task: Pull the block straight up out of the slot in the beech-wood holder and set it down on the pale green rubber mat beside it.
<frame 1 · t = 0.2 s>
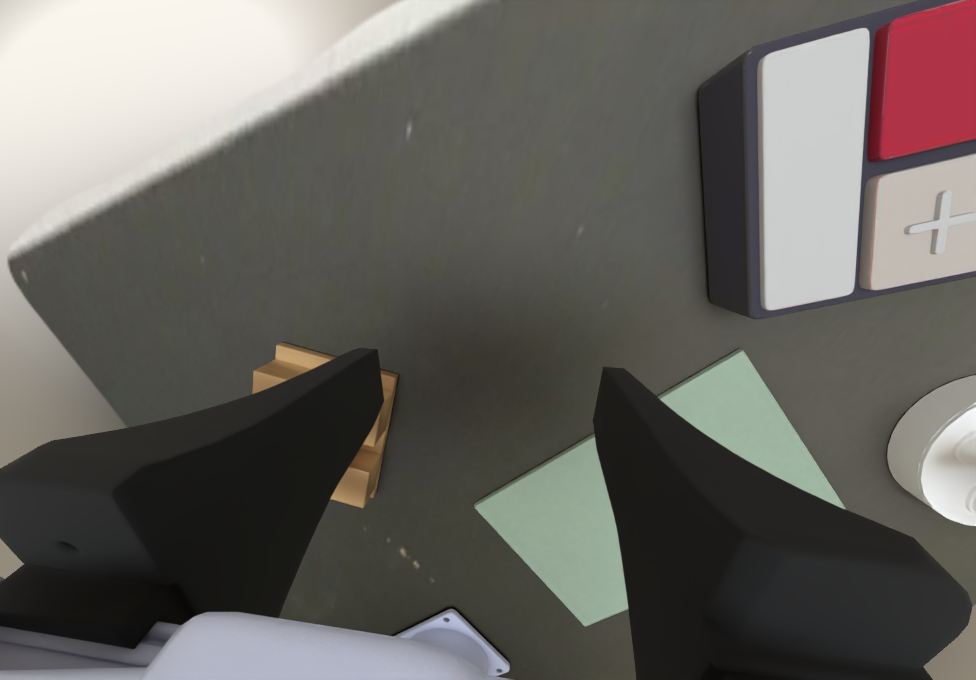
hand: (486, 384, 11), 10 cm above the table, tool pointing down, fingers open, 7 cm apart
holder: (332, 421, 25), on the table
calculator: (863, 166, 18), on the table
mat: (649, 506, 25), on the table
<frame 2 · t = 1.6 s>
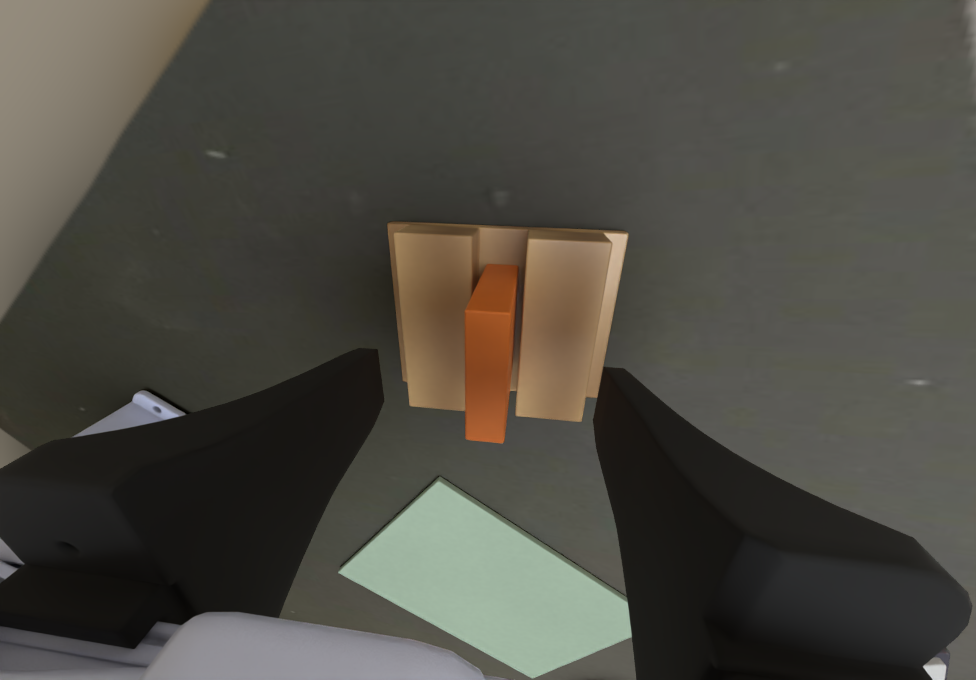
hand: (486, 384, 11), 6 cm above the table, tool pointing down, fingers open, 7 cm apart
holder: (501, 312, 17), on the table
calculator: (799, 646, 26), on the table
mat: (494, 591, 27), on the table
block: (500, 317, 16), point 1 cm above the table, touching holder
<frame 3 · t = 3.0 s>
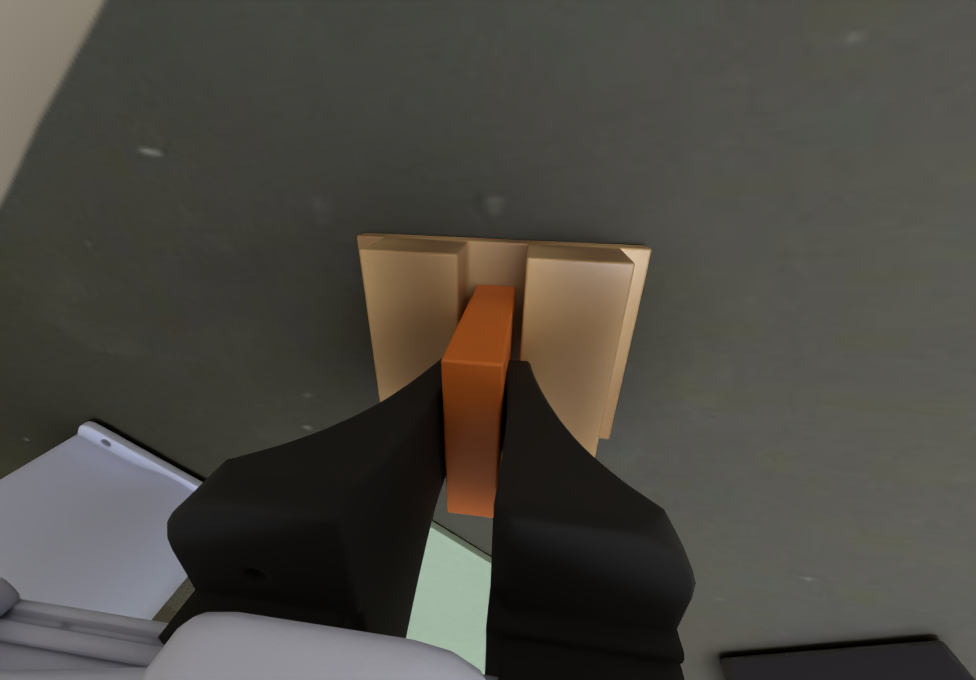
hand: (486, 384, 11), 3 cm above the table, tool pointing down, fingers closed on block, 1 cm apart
holder: (496, 340, 14), on the table
mat: (490, 638, 25), on the table
block: (494, 347, 14), point 1 cm above the table, touching gripper, holder
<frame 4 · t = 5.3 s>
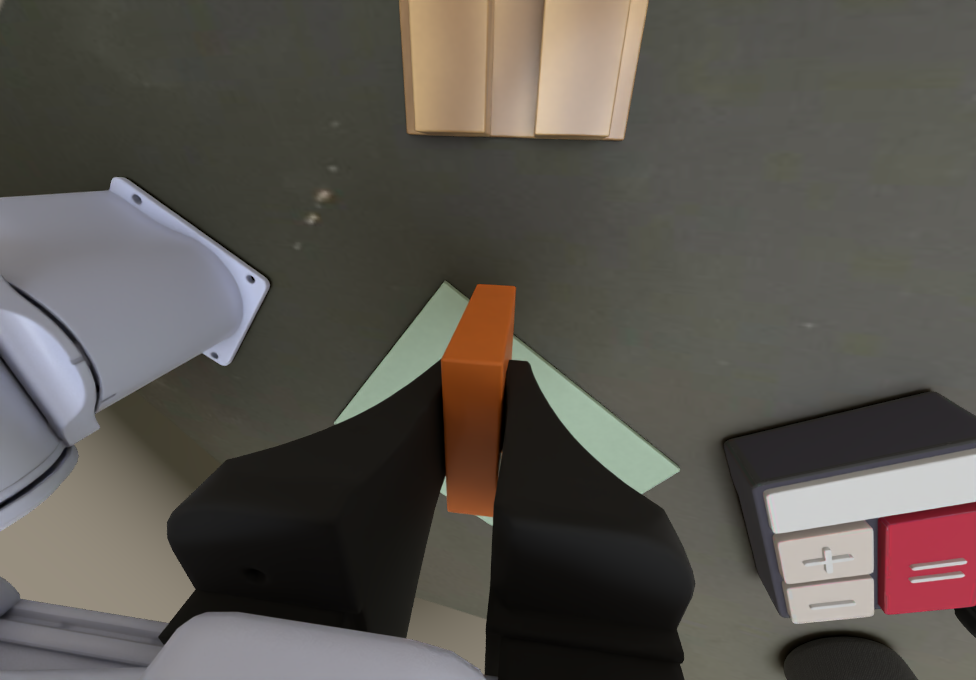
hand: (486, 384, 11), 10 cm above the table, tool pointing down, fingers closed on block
holder: (519, 29, 15), on the table
calculator: (828, 496, 24), on the table
smart speaker: (833, 654, 32), on the table
mat: (501, 442, 25), on the table
block: (494, 346, 14), point 7 cm above the table, touching gripper
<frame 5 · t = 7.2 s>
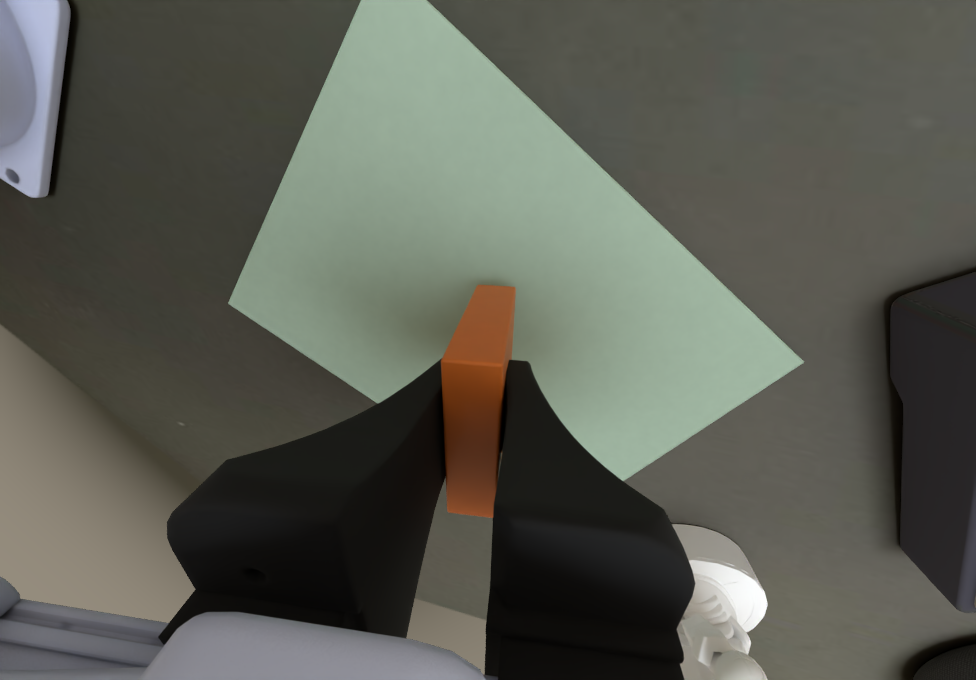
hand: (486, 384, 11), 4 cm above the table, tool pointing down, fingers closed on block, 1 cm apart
character figurine: (667, 573, 22), on the table
mat: (498, 327, 15), on the table
block: (494, 347, 14), point 2 cm above the table, touching gripper
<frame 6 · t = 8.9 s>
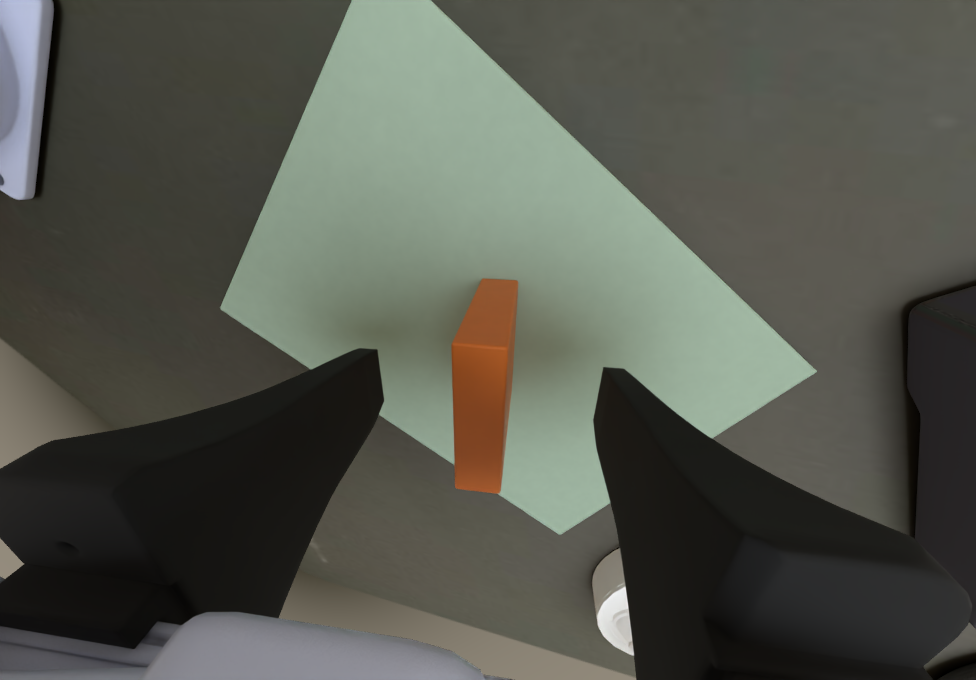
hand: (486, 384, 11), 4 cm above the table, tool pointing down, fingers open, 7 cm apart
character figurine: (672, 585, 21), on the table
mat: (498, 334, 15), on the table
block: (497, 338, 15), resting on mat
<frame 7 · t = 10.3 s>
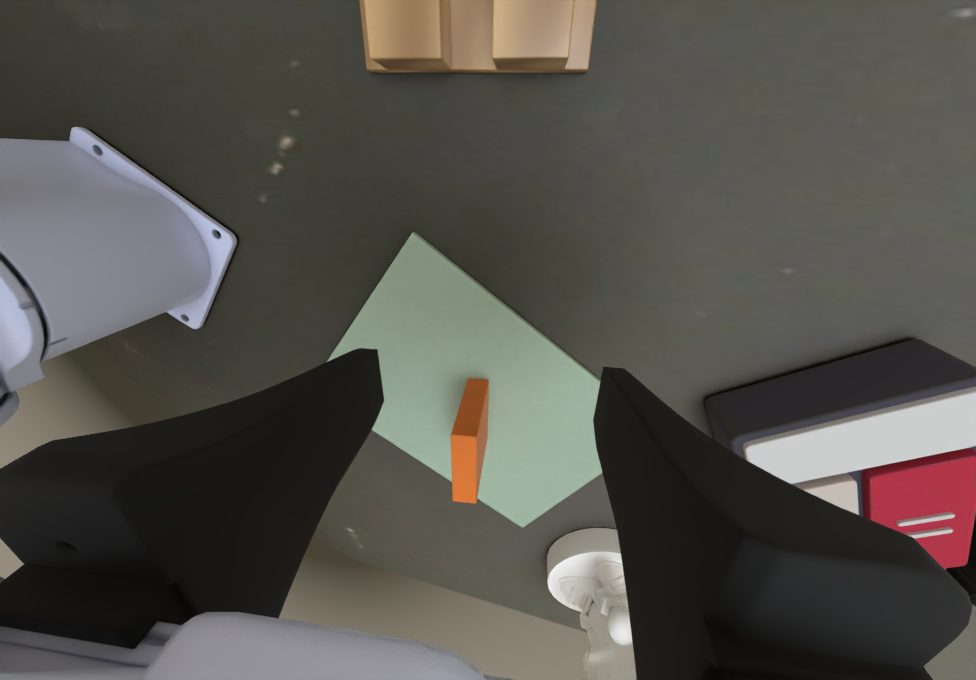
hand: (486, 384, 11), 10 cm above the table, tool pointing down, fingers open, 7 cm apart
calculator: (814, 457, 24), on the table
character figurine: (600, 562, 31), on the table
mat: (479, 405, 25), on the table
block: (478, 409, 24), resting on mat
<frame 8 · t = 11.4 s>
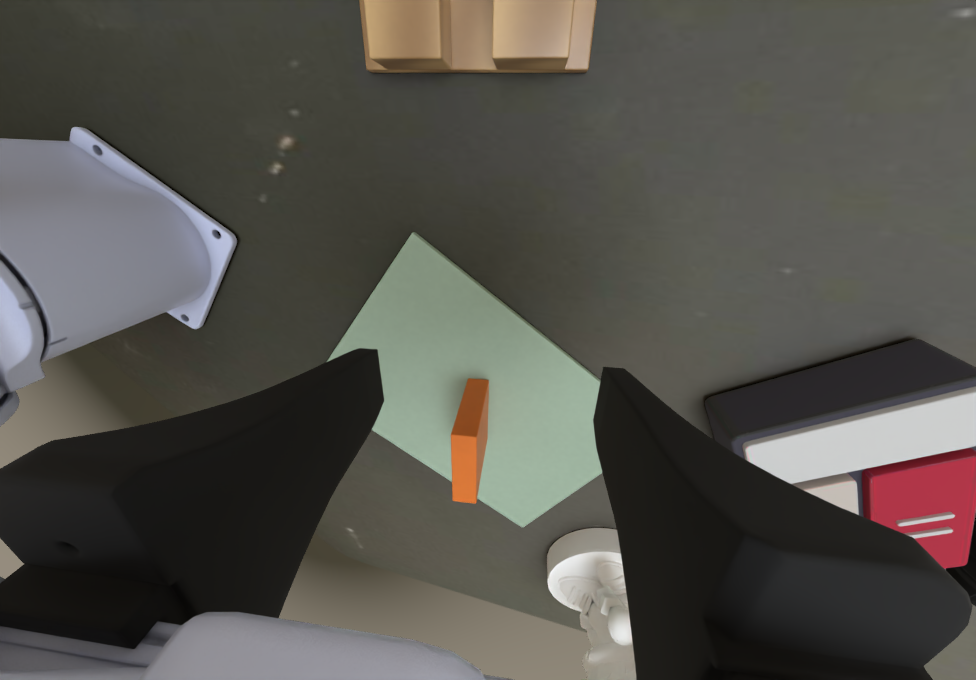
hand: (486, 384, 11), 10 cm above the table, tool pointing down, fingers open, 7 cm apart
calculator: (814, 457, 24), on the table
character figurine: (600, 562, 31), on the table
mat: (479, 405, 25), on the table
block: (478, 409, 24), resting on mat
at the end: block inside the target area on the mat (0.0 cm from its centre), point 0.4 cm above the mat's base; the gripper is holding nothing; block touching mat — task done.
